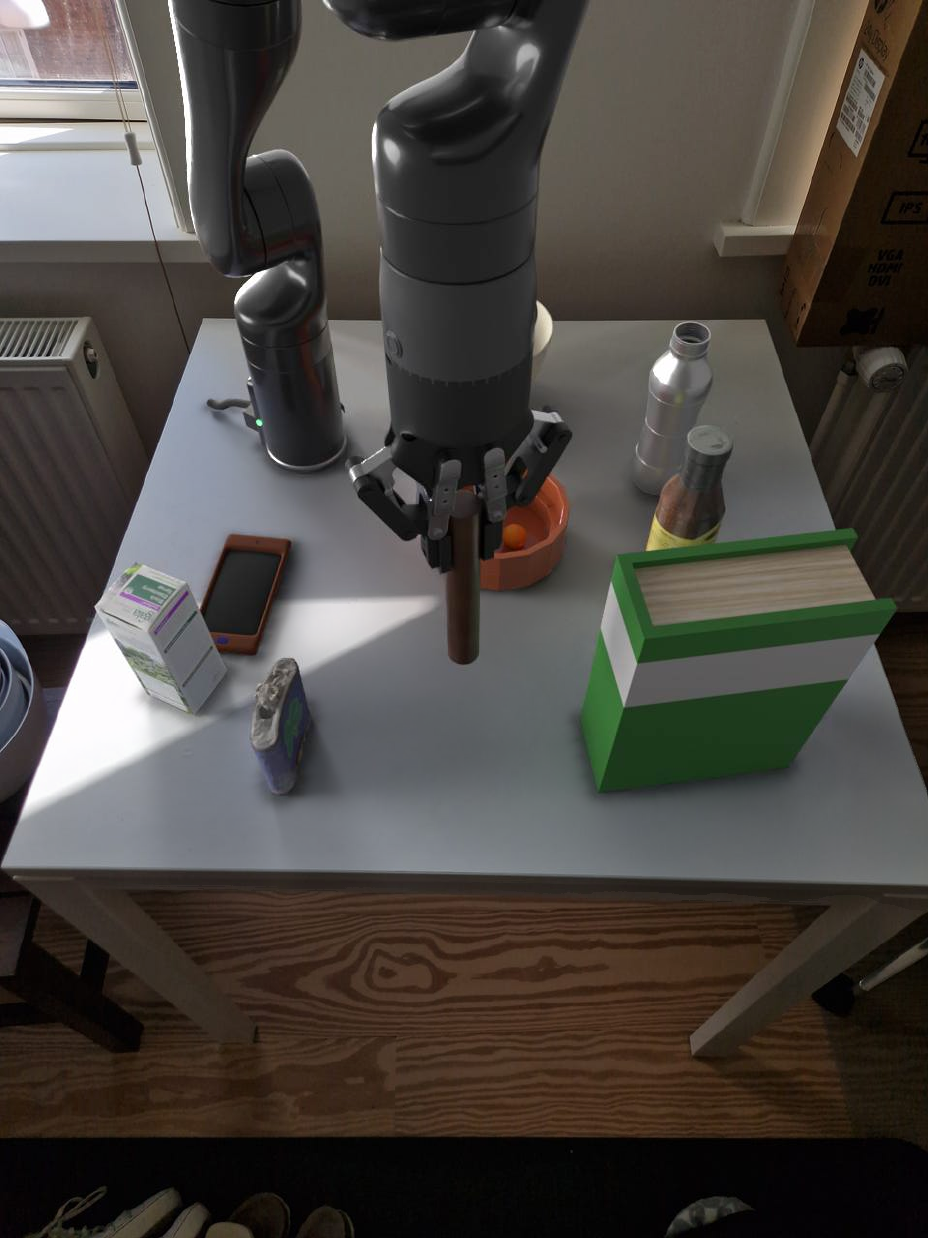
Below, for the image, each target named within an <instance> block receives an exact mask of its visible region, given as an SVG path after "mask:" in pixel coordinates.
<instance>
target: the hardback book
mask: <svg viewBox="0 0 928 1238" xmlns="http://www.w3.org/2000/svg"><path fill="white" fill-rule="evenodd" d="M858 539H859V536H858V534H857V532H856V531H855V529H854V527H849V528H841V529H832V530H822V531H813V532H805V533H795V534H787V535H777V536H768V537H759V538H749V539H741V540H733V541H725V542H724V541H723V542H715V543H714V544H705V545H696V546H687V547H678V548H669V549H660V550H651V551H646V550H645V551H643V550H642V551H634V552H626V553H617V554H616V557H615V561H614V566H613V569H612V574H611V579H610V584H609V588H608V591H607V598H606V602H605V607H604V610H603V615H602V620H601V624H600V629H599V633H598V638H597V642H596V646H595V651H594V655H593V660H592V664H591V669H590V674H589V678H588V683H587V688H586V691H585V695H584V696H585V697H584V700H583V705H582V708H581V709H582V710H581V714H580V718H579V722H580V725H581V730H582V734H583V738H584V742H585V745H586V749H587V754H588V757H589V761H590V765H591V770H592V773H593V777H594V780H595V786H596V788H597V793H598V794H600V793H607V792H614V791H623V790H630V789H637V788H644V787H651V786H659V785H665V784H674V783H680V782H689V781H695V780H703V779H710V778H711V779H712V778H718V777H726V776H733V775H740V774H747V773H756V772H762V771H770V770H776V769H785V768H789V767H790V766H791V764H792V763H793V762H794V760H795V759H796V758H797V756H798V754H799V753H800V752H801V750H802V748H803V747H804V745H805V744H806V742H807V741H808V740H809V738H810V737H811V735H812V734H813V732H814V731H815V729H816V728H817V726H818V725H819V724H820V722H821V720H822V719H823V718H824V716H825V715H826V714H827V712H828V711H829V709H830V708H831V707H832V705H833V704H834V702H835V701H836V699H837V697H838V696H839V695H840V693H841V692H842V690H843V689H844V687H845V686H846V685H847V684H848V682H849V680H850V678H852V676H853V674H854V672H855V671H857V668H858V667H859V666H860V664H861V663H862V661H863V659H864V658H865V657H866V655H867V654H868V653H869V651H870V650H871V648H872V646H873V645H874V644H875V642H876V641H877V639H878V638H879V636H880V635H881V634H882V632H883V631H884V629H885V627H886V626H887V625H888V623H889V622H890V620H891V619H892V617H893V616H894V615H895V613H896V612H897V610H898V607H897V605H896V603H895V601H894V600H893V598H892V597H887V598H879V599H876V598H875V596H874V594H873V592H872V590H871V588H870V586H869V585H868V583H867V580H866V579H865V577H864V575H863V574H862V571H861V569H860V568H859V566H858V564H857V562H856V560H855V558H854V557H853V555H852V553H851V551H852V549H853V547H854V546H855V544H856V542H857V540H858Z"/></svg>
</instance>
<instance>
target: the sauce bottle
mask: <svg viewBox="0 0 928 1238" xmlns="http://www.w3.org/2000/svg"><path fill="white" fill-rule="evenodd" d="M733 449H734V439H733V437H732V435H731V434H730V433H728V432H727V430H724V429H722V428H721V427H719V426H715V425H699V426H697V427H694V428H693V429H692V430H691V431H690V432H689V433H688V435H687V438H686V442H685V445H684V452H685V454H684V458H683V462H682V465H681V466H680V468H679V473H677V474H676V475H674V476H673V477H672V478H670V480H668V482H667V483H666V484H665V486H664V487H663V490H662V492H661V495H659V499H658V504H657V506H656V509H655V512H654V516H653V519H652V523H651V527H650V532H649V535H648V540H647V544H646V547H645V551H651V550H660V549H669V548H678V547H687V546H696V545H705V544H714V543H717V538H718V535H719V531H720V529H721V526H722V523H723V521H724V517H725V514H726V504H725V497H724V490H723V482H722V481H723V474H724V472H725V471H724V470H725V468H726V466H727V462H728V461H729V460H730V459H731V457H732V452H733Z"/></svg>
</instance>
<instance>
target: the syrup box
mask: <svg viewBox="0 0 928 1238" xmlns="http://www.w3.org/2000/svg"><path fill="white" fill-rule="evenodd" d="M94 608H95V612H96V613H97V614H98V616H99V617H100V619H101V621H102V622H103V625H104V626H105V628H106V629H107V631H108V633H109V634H110V636H111V638H112V639H113V640H114V642H115V644H116V646H117V647H118V649H119V650H120V652H121V653H122V655H123V657H124V659H125V661H126V662H127V664H128V665H129V667H130V668H131V670H132V672H133V673H134V675H135V676H136V678H137V680H138V681H139V684H141V687H142V688H143V690H144V691H145V693H146V695H148V696H149V697H152V698H154V699H156V700H159V701H161V702H163V703H165V704H167V705H170V706H172V707H174V708H176V709H179V710H181V711H183V712H186V713H188V714H189V715H192V716H194V715H196V714H197V713H198V712H199V710H200V709H201V708H202V706H204V704H205V702H206V701H207V700H208V698H209V697H210V696H211V694H212V693H213V692H214V690H215V689H216V688H217V686H218V685H219V683H220V682H221V681H222V679H224V677H225V675H226V674H227V668H226V666H225V664H224V662H223V659H222V657H221V654H220V653H219V652H218V650H217V648H216V646H215V644H214V641H213V639H212V637H211V635H210V632H209V630H208V628H207V626H206V623H205V621H204V619H203V616H202V614H201V612H200V610H199V609H200V607H199V605H198V603H197V600H196V598H195V596H194V594H193V591H192V589H191V587H190V585H189V583H188V582H187V581H183V580H180V579H179V578H176V577H174V576H171V575H169V574H166V573H164V572H161V571H159V570H157V569H154V568H152V567H150V566H147V565H144V564H142V563H140V562H138V561H134V562H133V563H132V564H130V565H129V567H128V568H127V569H126V570H125V571H124V572H123V573H121V575H120V576H118V577H117V579H116V580H115V581H114V582H113V583H112V585H110V587H109V588H108V589H107V591H106V592H105V593H104V594H103V595H102V596H101V598H100V599H99V600H98V602H97V603H96V604H95V605H94Z"/></svg>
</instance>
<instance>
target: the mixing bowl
mask: <svg viewBox="0 0 928 1238" xmlns="http://www.w3.org/2000/svg"><path fill="white" fill-rule="evenodd" d="M510 459H511V458H510ZM508 462H509V461H508ZM508 462H507V464H508ZM507 464H506V465H505V466H504V469H505V467H506V466H507ZM526 474H527V470H526V471H525V473H524V475H523V476H522V477H523V479H524V477H525V476H526ZM457 491H469V492H472V493H474V488H473V486H466V487H464V488H462V489H460V490H457ZM474 494H475V493H474ZM570 509H571V504H570V500H569V497H568V495H567V492H566V489H565V487H564V485H563V484H562V483H561V482H560V481H559V480H558V479H557V478H556V476H554V475H553V474H552V472H551V473H550V474H549V476H548V477H547V479H546V481H545V482H544V484H543V485H542V487H541V489H540V490H539V492H538V493H537V495H536V497H535V498H534V500H533V501H532V503H531V504H530V505H528V506H526V507H518V506H517V505H515V506H513V507H511V508H510V509H508V510H507V514H506V516H505V518H504V519H503V531H504V529H505V528H506V527H507V526H509V525H511V524H518V525H520V526H522V527H523V528H524V529H525V531H526V534H527V538H526V541H525V543H524V544H523V545H522V546H521V547H519V548H510V547H508V546H506V545H505V543H504V542H503V539H502V544H501V546H500V548H499V549H497V550H494V558H492V559H489V560H486V561H483V560H482V559H481V578H480V589H483V590H489V591H495V592H503V591H510V590H516V589H523V588H526V587H528V586H530V585H532V584H534V583H536V582H538V581H540V580H542V579H544V578H545V577H547V576H549V575H550V573H551V572H552V571H553V570H554V568H555V567H556V566H557V565H558V564H559V562H560V561H561V560H562V558H563V554H564V549H565V543H566V537H567V530H568V524H569V518H570V512H571V511H570ZM502 534H503V532H502Z"/></svg>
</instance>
